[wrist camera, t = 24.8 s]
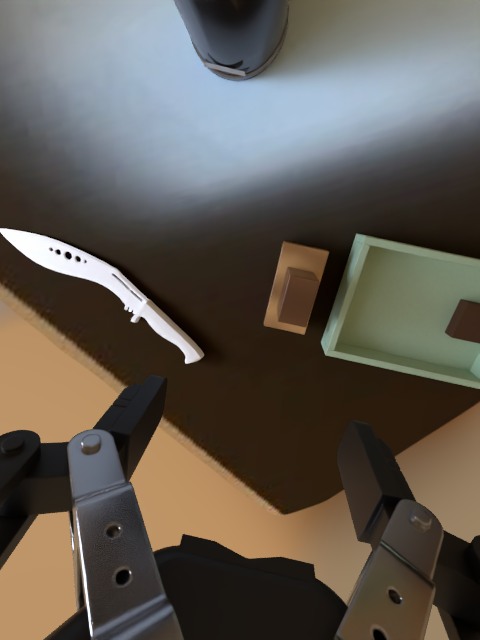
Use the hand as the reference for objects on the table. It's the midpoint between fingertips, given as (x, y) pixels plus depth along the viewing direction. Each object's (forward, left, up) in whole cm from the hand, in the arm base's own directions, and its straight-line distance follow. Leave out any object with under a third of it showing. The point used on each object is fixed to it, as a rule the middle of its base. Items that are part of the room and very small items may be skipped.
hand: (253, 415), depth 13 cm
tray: (0, +19, -26) cm, 32 cm away
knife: (+6, -20, -26) cm, 34 cm away
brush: (0, +4, -26) cm, 26 cm away
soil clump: (-1, +25, -26) cm, 36 cm away
